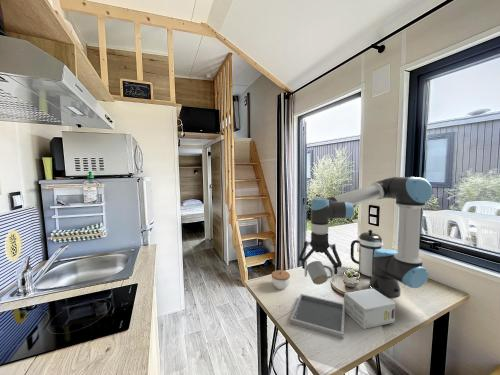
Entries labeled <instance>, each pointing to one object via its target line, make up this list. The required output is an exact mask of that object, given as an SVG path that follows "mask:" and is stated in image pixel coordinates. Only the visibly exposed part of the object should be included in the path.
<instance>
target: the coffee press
mask: <svg viewBox="0 0 500 375" xmlns="http://www.w3.org/2000/svg"><path fill="white" fill-rule="evenodd" d="M358 238H359V240H358V239H355V240H352V241H351V243H350V259H351V261H352V263H355V265H356V264H357V265H358V270H357V272H359V273H361V274H362V275H365V276H368V277H371V278H372V276H373V256H374V251H375V250H377V249H382V246H384V241H383V238H382V237H381V236H380V235H379V234H377V233H375V232H373V230H372V229H368V232H367V231H366V232H362V233H360V235H359V236H358ZM355 244H359V249H358V250H359V252H358V253H359V254H358V255H359V256H358V258H359V259H358V260H356V259H355V255H354V254H355V251H354V250H355ZM361 274H360V275H361Z"/></svg>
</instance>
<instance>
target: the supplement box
mask: <svg viewBox="0 0 500 375" xmlns="http://www.w3.org/2000/svg"><path fill="white" fill-rule="evenodd" d="M343 294H344V296H343V304H344V308H345V314H347V315H348V316H349V317H350V318H351V319H352V320H353V321H354V322H356V323H357V324H358V326H359V327H360V328H362V329H363V330H366V329H369V328H374V327H380V326H383V325H387V324H393V323H395V322H396V318H395V317H396V302H394V301H393V300H392V299H391V298H388V296H384V295H383V294H381V293H379V292H378V291H376V290H375V289H373V288H366V289H361V290H360V289H359V290H354V291H348V292H344V293H343Z"/></svg>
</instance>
